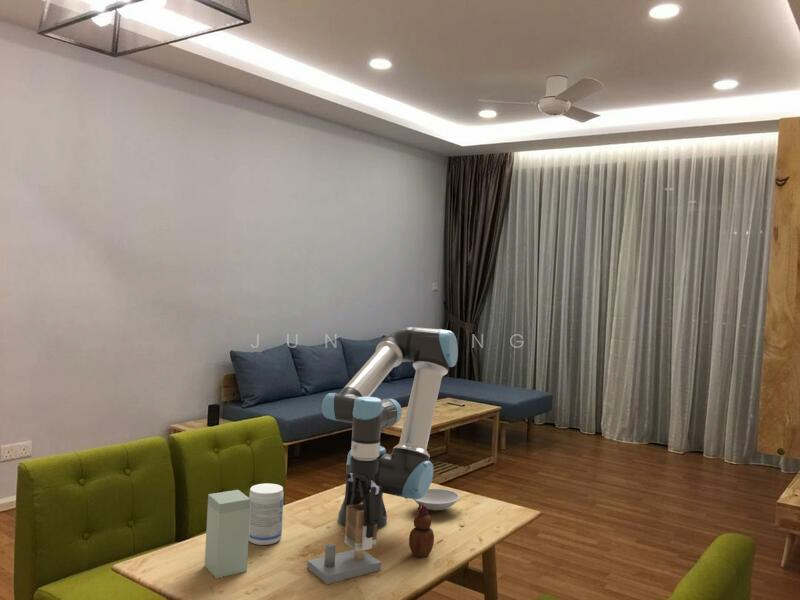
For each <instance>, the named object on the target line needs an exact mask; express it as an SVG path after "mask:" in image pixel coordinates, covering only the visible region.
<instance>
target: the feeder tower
mask: <svg viewBox="0 0 800 600" xmlns="http://www.w3.org/2000/svg"><path fill="white" fill-rule="evenodd" d="M250 502H251V499H250V498H249V496H247V495H246V494H245V493H243V492H242V491H241V490H239V489H233V490H227V491H226V490H225V491H222V492H215V493H214V492H213V493H208V495H207V513H206V533H205V552H204V553H205V554H204V567H206V569H207V570H208V571H209V572H210V573H211V574H213V575H214V576H213V575H212V576H213V577H214V578H215V579H219V577H220V578H223V576H224V577H228V575H229V576H232V575H236V574H241V573H245V572H247V571H248V555H249V521H250Z"/></svg>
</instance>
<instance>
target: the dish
mask: <svg viewBox="0 0 800 600" xmlns="http://www.w3.org/2000/svg"><path fill="white" fill-rule="evenodd" d="M460 499H461V494H460V493H459V492H457V491H455V490H451V489H448V488H439V487H438V488H437V487H434V488H432V487H429V489H428V491H427V492H426V494H425V495H424V496H423V497H422V498H420V499H412V500H413V501H414V502H416V504H417V505H419V503H420V505H421V508H422V503H424V506H426V508H427V510H429V511H433V510H438V511H443V510H445V509H447V510H448V509H449V508H450V507H452V506H453V505H454V504H455V503H457V502H458V501H459V500H460Z"/></svg>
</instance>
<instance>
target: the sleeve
mask: <svg viewBox="0 0 800 600" xmlns="http://www.w3.org/2000/svg"><path fill="white" fill-rule="evenodd" d="M364 523H365V516H364V507H363V503H359V504H354V505H347V506H346V525H345V527H344V528H345V529H344V531H345V532H344V544H345V545H347V546H348V547H349V548H351V550H355V551H361V550H362V534H363V524H364ZM377 536H378V529H377V524H376V525H374V531H373V538H372V548H371V549H373V548H376V547H377V539H378V538H377Z"/></svg>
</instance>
